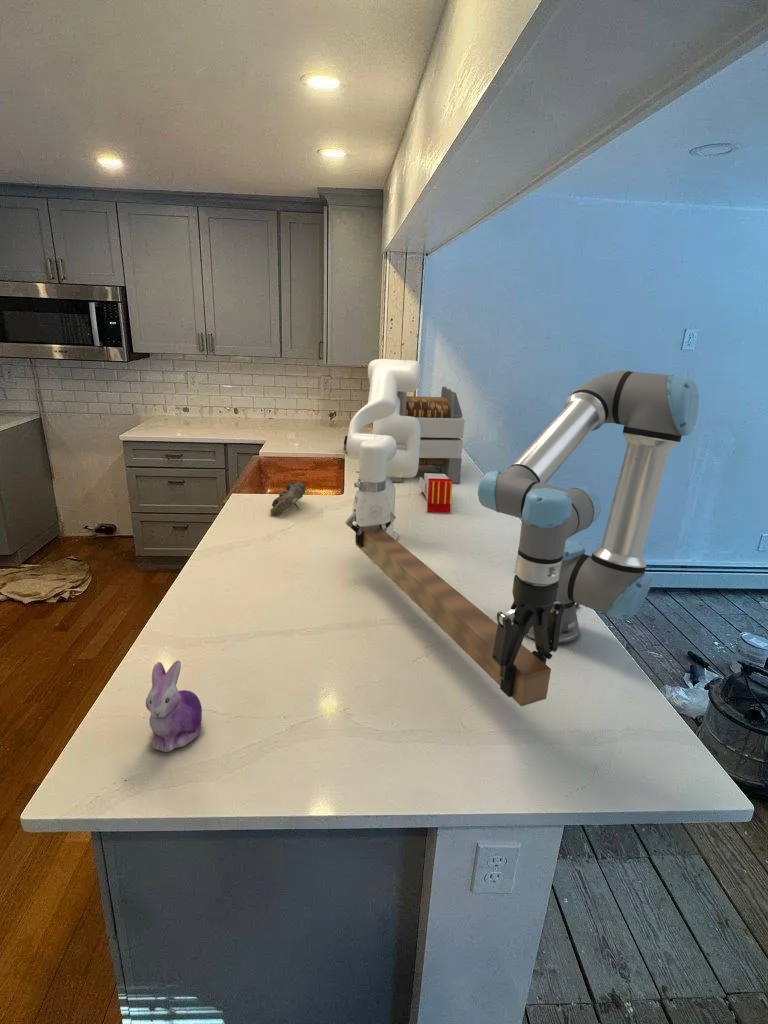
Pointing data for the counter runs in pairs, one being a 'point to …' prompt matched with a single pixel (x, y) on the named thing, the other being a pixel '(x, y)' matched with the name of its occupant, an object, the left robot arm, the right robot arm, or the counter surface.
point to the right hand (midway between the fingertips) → (520, 687)
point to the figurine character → (345, 444)
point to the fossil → (288, 498)
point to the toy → (437, 492)
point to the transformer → (436, 431)
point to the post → (454, 614)
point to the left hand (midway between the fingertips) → (370, 543)
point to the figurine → (172, 710)
